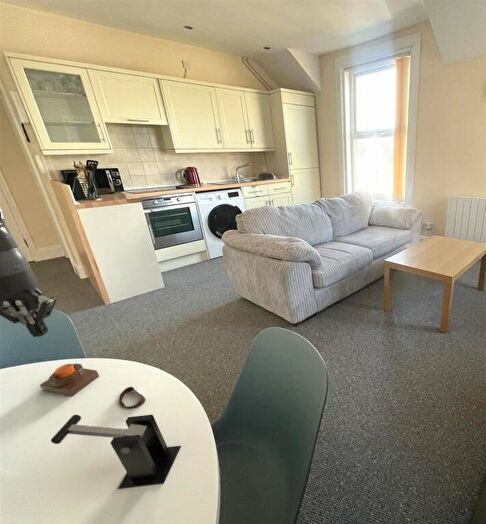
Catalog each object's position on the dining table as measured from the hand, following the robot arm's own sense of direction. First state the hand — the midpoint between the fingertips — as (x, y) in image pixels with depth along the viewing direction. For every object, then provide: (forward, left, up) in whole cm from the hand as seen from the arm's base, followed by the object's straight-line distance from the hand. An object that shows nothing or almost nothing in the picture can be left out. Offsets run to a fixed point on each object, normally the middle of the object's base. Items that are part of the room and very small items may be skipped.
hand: (41, 334), depth 69 cm
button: (-1, +1, -14) cm, 14 cm away
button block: (-1, +1, -17) cm, 17 cm away
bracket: (+34, -25, -17) cm, 46 cm away
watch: (+21, -7, -17) cm, 28 cm away
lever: (+29, -25, -7) cm, 39 cm away
